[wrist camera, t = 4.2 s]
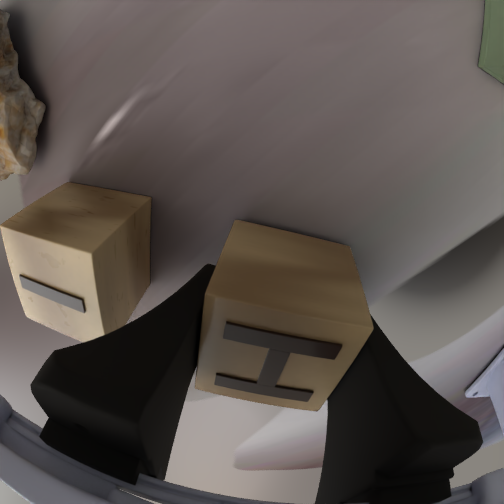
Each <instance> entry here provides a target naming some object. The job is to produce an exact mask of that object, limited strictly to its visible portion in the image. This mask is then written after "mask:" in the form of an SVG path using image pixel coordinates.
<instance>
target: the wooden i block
mask: <svg viewBox="0 0 504 504" xmlns="http://www.w3.org/2000/svg"><path fill="white" fill-rule="evenodd" d="M150 221H151V197H148V196H143V195H137V194H132V193H127V192H121V191H116V190H110V189H105V188H99V187H94V186H88V185H82V184H76V183H70V182H67V183H65V184H63V185H61V186H60V187H58V188H56V189H55V190H53V191H51V192H50V193H48V194H46V195H45V196H43V197H41V198H40V199H38V200H37V201H35V202H33V203H32V204H30V205H29V206H27V207H26V208H24V209H23V210H21V211H20V212H18V213H17V214H15V215H14V216H12V217H11V218H9V219H8V220H6V221H5V222H4V223H2V224H1V225H0V228H1V233H2V238H3V242H4V246H5V250H6V254H7V258H8V262H9V265H10V269H11V272H12V276H13V279H14V282H15V285H16V289H17V292H18V295H19V297H20V300H21V303H22V306H23V309H24V312H25V314H26V317H28V318H30V319H32V320H34V321H36V322H38V323H40V324H42V325H45V326H47V327H49V328H51V329H53V330H56V331H58V332H60V333H62V334H65V335H67V336H69V337H71V338H74V339H76V340H79V341H81V342H83V343H84V342H87V341H90V340H92V339H95V338H98V337H100V336H103V335H105V334H108V333H110V332H112V331H115V330H117V329H119V328H121V327H123V326H125V324H126V323H127V321H128V319H129V318H130V316H131V314H132V313H133V311H134V309H135V308H136V306H137V304H138V303H139V301H140V300H141V298H142V296H143V295H144V293H145V292H146V290H147V288H148V287H149V285H150Z"/></svg>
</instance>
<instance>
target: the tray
mask: <svg viewBox="0 0 504 504" xmlns="http://www.w3.org/2000/svg"><path fill="white" fill-rule="evenodd" d="M478 67H479V68H481V69H483V70H484V71H486V72H487V73H489V74H490V75H492V76H493V77H494V78H496V79H497V80H499V81H500V82H501V83H503V84H504V0H485V14H484V25H483V35H482V43H481V50H480V57H479V63H478Z"/></svg>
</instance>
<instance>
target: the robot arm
mask: <svg viewBox="0 0 504 504" xmlns="http://www.w3.org/2000/svg"><path fill="white" fill-rule="evenodd" d="M215 267H216V266H215V265H211V264H207V265H205V266H204V267H203V268H202V269H201V270H200V271H199V272H198V273H197V274H196V275H195V276H194V277H193V278H192V279H190V280H189V281H188V282H187V283H186V284H185V285H184V286H182V287H181V288H180V289H179V290H178V291H177V292H175V293H174V294H173V295H172V296H170V297H169V298H168V299H166V300H165V301H164V302H162V303H161V304H159V305H158V306H157V307H155V308H154V309H152V310H151V311H149V312H148V313H146V314H144V315H143V316H141V317H139V318H138V319H136V320H134V321H132V322H130V323H128V324H127V325H125V326H123V327H121V328H119V329H117V330H115V331H112V332H110V333H108V334H105V335H103V336H100V337H98V338H95V339H92V340H90V341H87V342H84V343H81V344H77V345H73V346H70V347H67V348H63V349H59V350H55V351H54V352H53V353H52V354H51V355H50V357H49V358H48V359H47V360H46V362H45V363H44V365H43V366H42V368H41V369H40V371H39V372H38V374H37V375H36V377H35V379H34V380H33V382H32V383H31V390H32V394H33V395H34V397H35V399H36V400H37V402H38V403H39V405H40V406H41V407H42V409H43V410H44V412H45V413H46V414H47V416H48V417H49V418H48V420H47V422H46V424H45V426H44V428H41V427H39V426H38V425H36V424H34V423H33V422H31V421H30V420H28V419H26V418H25V417H23V416H22V415H20V414H19V413H17V412H16V411H14V410H13V409H12V407H11V405H10V404H9V403H8V402H7V401H6V399H5V398H4V397H2V396H1V395H0V480H1V481H2V482H3V483H5V484H6V485H7V486H8V487H10V488H11V489H12V490H13V491H15V492H16V493H17V494H19V495H20V496H21V497H23V498H24V499H26V500H27V501H28V502H30V503H31V504H154V503H151V502H149V501H146V500H143V499H141V498H139V497H136V496H134V495H137V496H140V497H143V498H146V499H149V500H152V501H155V502H158V503H162V504H292V503H278V502H268V501H258V500H250V499H244V498H237V497H231V496H225V495H220V494H214V493H210V492H205V491H200V490H196V489H192V488H188V487H184V486H180V485H177V484H173V483H169V482H166V481H163V480H164V479H165V476H166V471H167V467H168V463H169V458H170V454H171V450H172V446H173V442H174V438H175V434H176V430H177V427H178V423H179V419H180V415H181V412H182V408H183V405H184V401H185V398H186V394H187V391H188V387H189V385H190V382H191V379H192V376H193V374H194V371H195V369H196V367H197V360H198V350H199V341H200V331H201V322H202V314H203V305H204V297H205V292H206V290H207V287H208V285H209V282H210V280H211V277H212V275H213V272H214V270H215ZM370 316H371V314H370ZM371 319H372V323H373V327H374V329H373V331H372V332H371V334H370V336H369V337H368V339H367V341H366V342H365V344H364V345H363V347H362V349H361V350H360V352H359V353H358V355H357V356H356V358H355V359H354V361H353V362H352V364H351V365H350V367H349V368H348V370H347V371H346V373H345V374H344V376H343V377H342V379H341V380H340V382H339V383H338V384H337V386H336V387H335V389H334V390H333V391H332V393H331V394H330V396H329V397H328V398H327V400H328V420H327V434H326V444H325V453H324V460H323V467H322V473H321V479H320V483H319V488H318V493H317V497H316V501H315V504H504V469H503V468H501V469H499V470H496V471H493V472H490V473H487V474H485V475H483V476H481V477H480V478H478V479H476V480H474V481H473V482H472V483H470V484H466V485H463V486H459V487H456V488H452V489H451V488H450V482H449V479H450V478H452V477H453V476H454V472H453V468H454V467H455V466H457V465H458V464H459V463H461V462H463V461H464V460H466V459H467V458H469V457H470V456H472V455H473V454H474V453H475V452H476V451H478V450H479V449H480V447H481V445H482V443H483V440H482V436H481V432H480V428H479V425H478V422H477V421H476V420H474V419H473V418H471V417H470V416H468V415H467V414H465V413H464V412H462V411H460V410H459V409H457V408H456V407H455V406H453V405H452V404H451V403H449V402H448V401H447V400H446V399H444V398H443V397H442V396H441V395H439V394H438V393H437V392H436V391H435V390H434V389H433V388H432V387H430V386H429V385H428V384H427V383H426V382H425V381H424V380H423V379H422V378H421V377H420V376H419V375H418V374H417V373H416V372H415V371H414V370H413V369H412V368H411V366H410V365H409V364H408V363H407V362H406V361H405V360H404V359H403V357H402V356H401V355H400V354H399V352H398V351H397V350H396V349H395V347H394V346H393V345H392V344H391V342H390V341H389V340H388V338H387V337H386V336H385V334H384V333H383V332H382V330H381V329H380V327H379V326H378V325H377V323H376V322H375V320H374V319H373V317H372V316H371ZM465 396H466V397H467V398H471V397H487V396H490V397H491V400H492V403H493V406H494V408H495V411H496V414H497V417H498V420H499V423H500V426H501V429H502V432H503V435H504V348H503V349H502V351H501V352H500V353H499V354H498V356H497V357H496V358H495V359H494V360H493V362H492V363H491V364H490V365H489V366H488V367H487V369H486V370H485V371H484V372H483V373H482V374H481V375H480V376H479V377H478V379H477V380H476V381H475V382H474V383H473V384H472V385H471V386H470V387H469V388H468V389H467V390H466V391H465ZM120 489H121V490H120ZM122 490H123V491H122ZM124 491H126V492H124ZM127 492H129V493H132V494H134V495H132V494H129V493H127Z"/></svg>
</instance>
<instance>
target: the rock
mask: <svg viewBox="0 0 504 504" xmlns="http://www.w3.org/2000/svg"><path fill="white" fill-rule="evenodd" d="M9 17H10V14H9V13H7V12H3V11H2V10H1V9H0V181H1V180H3V179H7V178H8V176H9V175H10V174H13V173H15V174H17V175H25V174H28V173H29V171H30V170H31V168H32V166H33V163H34V160H35V158H36V151H37V145H36V141H35V138H36V136H37V130H38V126H39V124H40V123H41V122H42V118H43V114H44V111H45V104H44V103H42V102H41V101H39V100H38V99H36V98H35V96H34V94H33V92H32V90H31V89H30V87H29V86H28V85H27V84H26V83H25V82H24V81H23V80H22V79H21V78H20V77H19V73H18V54H17V52H16V51H15V50H14V49H13V45H12V42H11V40H10V35H9V29H8V28H7V21H8V19H9Z"/></svg>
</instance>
